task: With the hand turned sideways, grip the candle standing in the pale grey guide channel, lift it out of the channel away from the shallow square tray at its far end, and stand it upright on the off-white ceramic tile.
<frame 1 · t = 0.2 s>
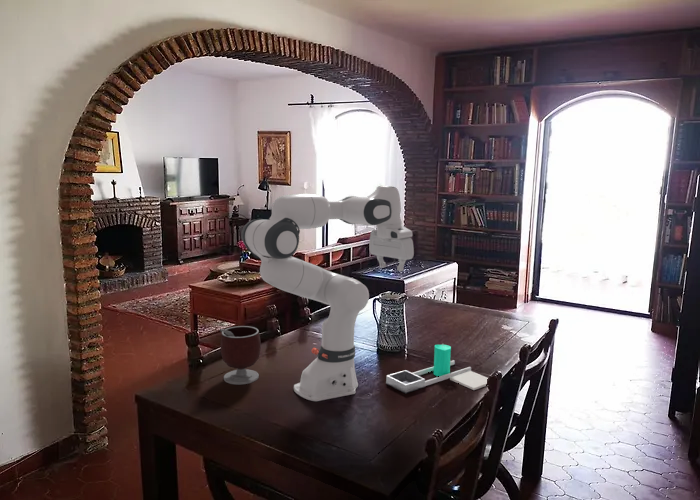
hand: (391, 269, 196), 39 cm above the table, tool pointing down, fingers open, 8 cm apart
ceramic tile: (472, 381, 194), on the table
shallow square tray: (405, 385, 189), on the table
mate gourd: (239, 378, 194), on the table
guide channel: (439, 374, 199), on the table
candle: (441, 374, 200), on the table
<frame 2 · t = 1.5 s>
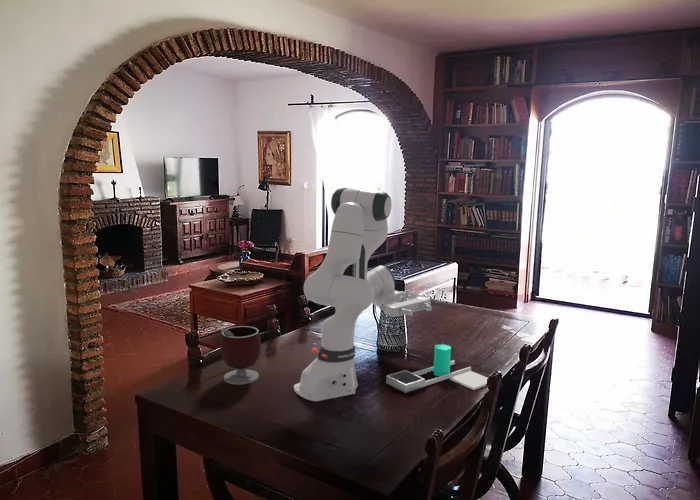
hand: (421, 311, 206), 21 cm above the table, tool horizontal, fingers open, 8 cm apart
nothing on the table moved.
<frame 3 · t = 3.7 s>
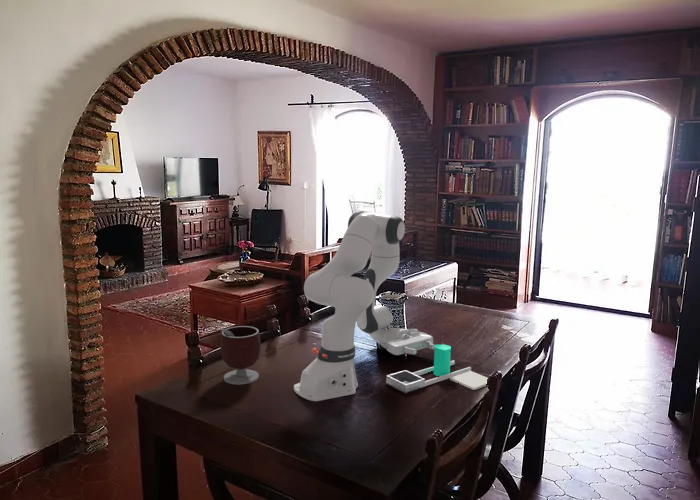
hand: (424, 349, 206), 7 cm above the table, tool horizontal, fingers open, 8 cm apart
nothing on the table moved.
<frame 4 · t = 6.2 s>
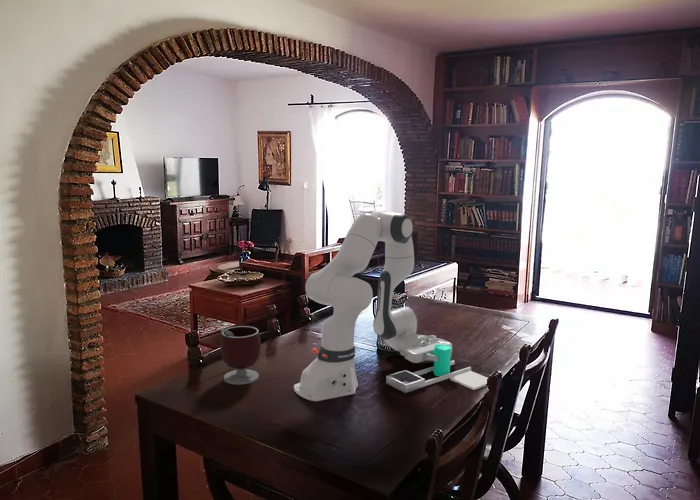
hand: (444, 357, 198), 7 cm above the table, tool horizontal, fingers closed on candle, 5 cm apart
candle: (441, 374, 200), on the table, touching gripper
everything else where it was.
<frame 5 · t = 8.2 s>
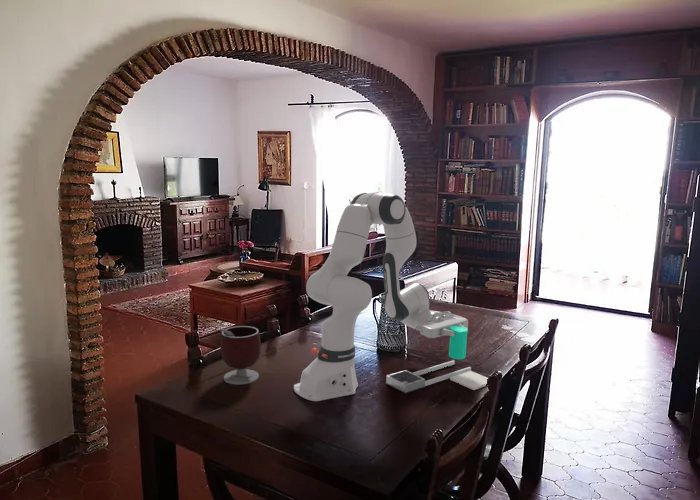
hand: (460, 332, 194), 17 cm above the table, tool horizontal, fingers closed on candle, 5 cm apart
candle: (457, 356, 196), point 8 cm above the table, touching gripper
everything else where it was.
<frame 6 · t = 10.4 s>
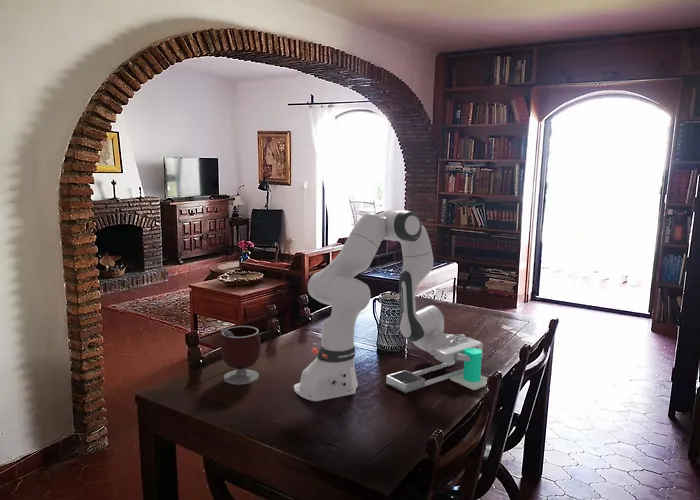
hand: (475, 357, 192), 9 cm above the table, tool horizontal, fingers closed on candle, 5 cm apart
candle: (471, 379, 194), point 1 cm above the table, touching ceramic tile, gripper
everything else where it was.
when the fingers open (9 cm above the table, at t = 10.5 s): candle stays where it is, resting on ceramic tile.
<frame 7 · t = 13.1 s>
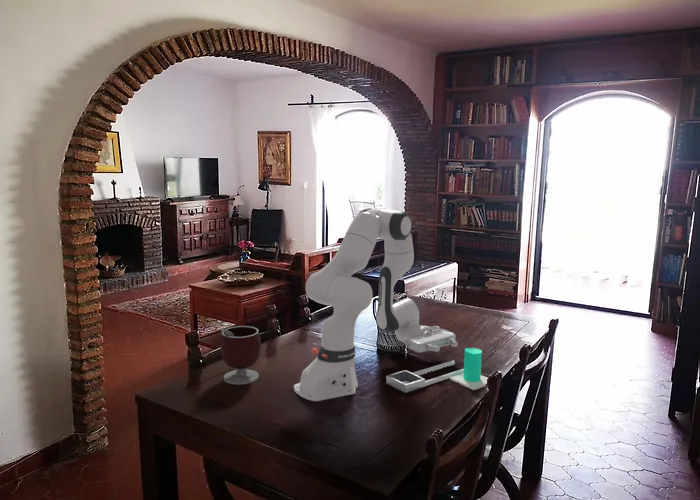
hand: (447, 347, 202), 9 cm above the table, tool horizontal, fingers open, 8 cm apart
candle: (471, 379, 194), point 1 cm above the table, touching ceramic tile
everything else where it was.
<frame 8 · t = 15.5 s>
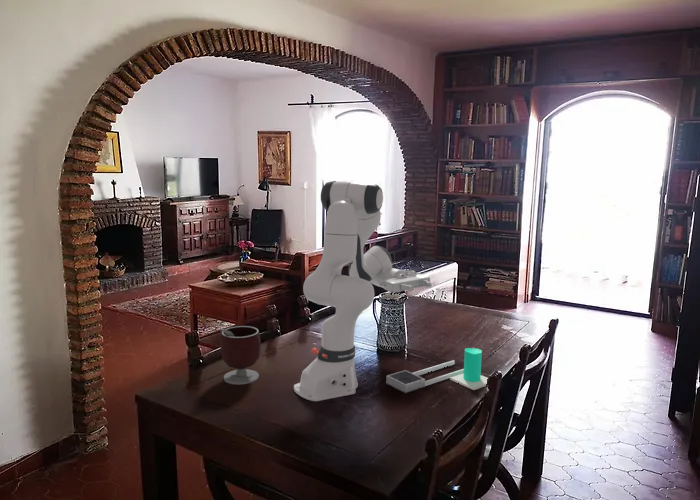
hand: (421, 287, 206), 30 cm above the table, tool horizontal, fingers open, 8 cm apart
nothing on the table moved.
at the end: candle 0.5 cm from the target spot, point 0.6 cm above the table; candle tilted 0°; the gripper is holding nothing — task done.
